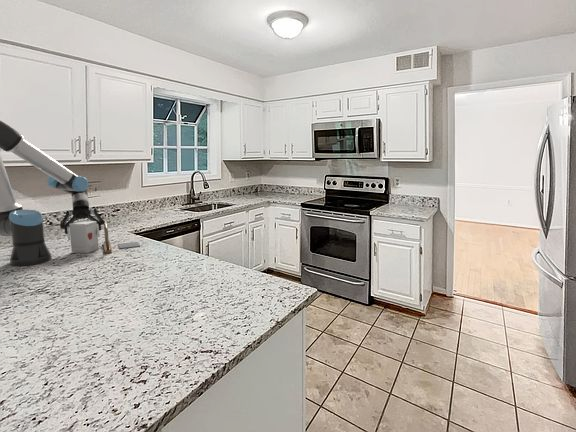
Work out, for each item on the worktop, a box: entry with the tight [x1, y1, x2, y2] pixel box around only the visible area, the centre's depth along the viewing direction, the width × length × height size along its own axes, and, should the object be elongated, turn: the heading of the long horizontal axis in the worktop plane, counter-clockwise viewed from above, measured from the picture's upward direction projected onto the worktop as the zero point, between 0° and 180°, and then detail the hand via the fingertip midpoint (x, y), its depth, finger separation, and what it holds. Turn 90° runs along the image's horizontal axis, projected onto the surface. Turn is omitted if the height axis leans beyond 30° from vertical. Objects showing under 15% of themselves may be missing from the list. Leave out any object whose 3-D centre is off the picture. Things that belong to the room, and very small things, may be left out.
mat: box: [118, 241, 141, 250], centre depth 184 cm, size 10×10×1 cm
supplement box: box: [69, 220, 100, 254], centre depth 173 cm, size 9×9×15 cm
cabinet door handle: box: [103, 220, 113, 254], centre depth 178 cm, size 3×22×15 cm, turn 30°
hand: (84, 237), depth 172 cm, fingers open, 12 cm apart
